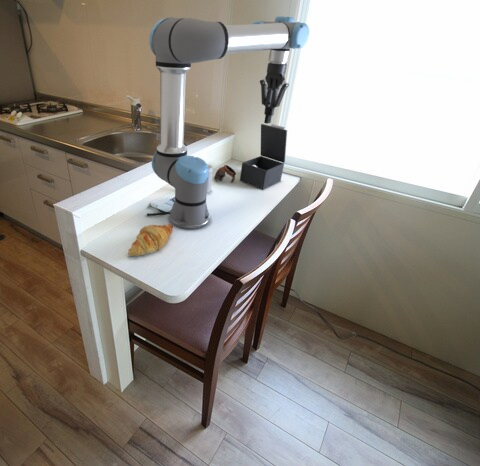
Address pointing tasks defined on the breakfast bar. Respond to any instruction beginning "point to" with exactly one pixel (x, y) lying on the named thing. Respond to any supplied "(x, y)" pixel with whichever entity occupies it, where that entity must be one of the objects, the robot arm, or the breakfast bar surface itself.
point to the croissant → (150, 239)
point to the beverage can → (209, 178)
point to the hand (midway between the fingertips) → (267, 122)
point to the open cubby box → (261, 172)
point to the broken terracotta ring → (223, 171)
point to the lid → (273, 142)
